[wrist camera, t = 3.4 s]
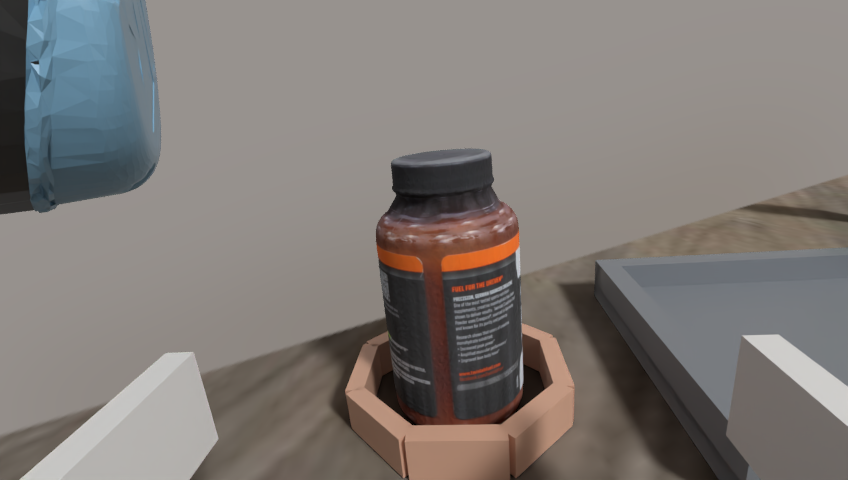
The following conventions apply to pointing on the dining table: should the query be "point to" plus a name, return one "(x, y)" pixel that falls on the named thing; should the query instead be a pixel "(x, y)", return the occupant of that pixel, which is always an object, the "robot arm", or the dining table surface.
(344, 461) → the dining table surface
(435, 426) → the holder ring
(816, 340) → the tray
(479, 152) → the supplement bottle
